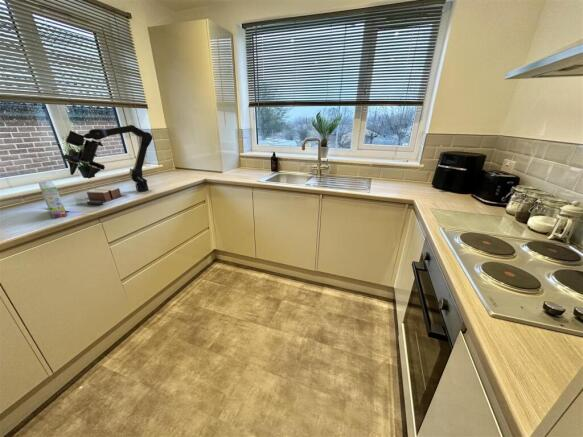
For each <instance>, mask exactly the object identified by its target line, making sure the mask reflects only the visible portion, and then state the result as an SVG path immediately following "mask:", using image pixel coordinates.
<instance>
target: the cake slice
mask: <svg viewBox="0 0 583 437" xmlns="http://www.w3.org/2000/svg"><path fill="white" fill-rule="evenodd" d="M86 195H87V198H89V199H92V200H108V199H111V197H110V194H109V191H108V190H94V189H90V190H86Z"/></svg>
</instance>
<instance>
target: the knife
mask: <svg viewBox="0 0 583 437" xmlns="http://www.w3.org/2000/svg"><path fill="white" fill-rule="evenodd" d="M74 201H75V203H76V204H77V205H87V206H95V207H101V206H103V205H104V204H105V203H103V201H93V200H90V201H89V200H88V199H86V198H77V197H76V198H74Z"/></svg>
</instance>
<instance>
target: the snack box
mask: <svg viewBox="0 0 583 437" xmlns="http://www.w3.org/2000/svg"><path fill="white" fill-rule="evenodd" d="M38 185H39V188H40V189H39V190H40V191H41V194H42V197H43V199H44V201H45V204H46V207H47V209H48V210H49V213H50V215H51V217H52V218H53V219H56V218H57V219H59V218H62V217H67V212H66V210H65V207H64V204H63V201H62V198H61V195H60V193H59V191H58V187H57V186H56V184H55V183H54V182H53V181H52V180H48V181H40V182H39V181H38Z"/></svg>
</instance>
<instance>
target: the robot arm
mask: <svg viewBox="0 0 583 437" xmlns="http://www.w3.org/2000/svg"><path fill="white" fill-rule="evenodd" d="M127 133H132V134H133V135H135V136H137V137H138V143H139V146H138V150H137V153H136V158H135V161H134V166H133V168H129V173H128V176H129V179H130V180H131V181H133V182H134V186H135V190H136V192H137V193H145V192H148V191H150V190H149V186H148V180H147V179H145V178H144V177H143V166H144V162H145V158H146V154H147V151H148V148H149V146H150V145H151V142H152V140H153V135H152V134H151V133H150V132H149V131H144V130H142V129H140V128H138V127H137V126H135V125H133V124H128V125H124V126H118V127H111V128H91V129H89V130H88V132H87V133H85V134H84V133H83V135H82V134H79V133H77V132H75V131H72V130H69V132H68V134H67V136H66V139H65V143H66V144H69V145H72V146H75V147H77V148H79V147H83V148H82V149H80V150H79V151H76V150H75V149H72V148H71V149H69V151H68V153H65V154H63V157H62V159H64V160H65V161H66V162H67V164H68V166H69V173H70V175H71V176H73V175H74V174H75V173H76V172H77V169H78V167H79V163H81V164H84V165H89V173H88V175H87V179H89V180H90V179H91V178H92V177H94V176H95V175H96V174H97V173H99V172H102V171H104V170H105V168H106V166H105V164H103V163H100V162H97V161H94V159H95V157H96V158H98V155H97V151H98V148H99V147H104V145H103V144H102V141H99V140H102V139H105V138H107V137H110V136H116V135H121V134H127Z"/></svg>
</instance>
